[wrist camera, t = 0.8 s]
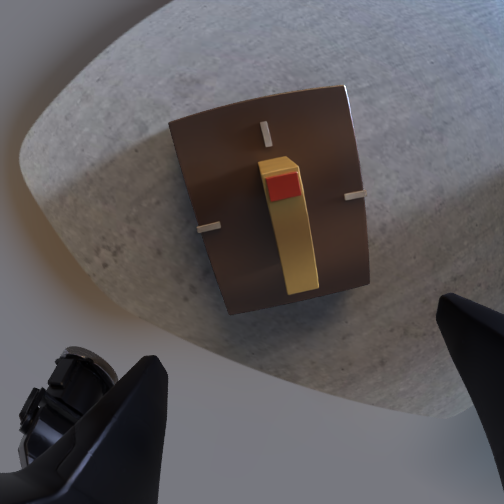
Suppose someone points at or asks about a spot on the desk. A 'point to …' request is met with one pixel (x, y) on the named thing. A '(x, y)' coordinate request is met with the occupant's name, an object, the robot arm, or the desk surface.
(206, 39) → the desk surface
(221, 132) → the block
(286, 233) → the red-tabbed yellow block
